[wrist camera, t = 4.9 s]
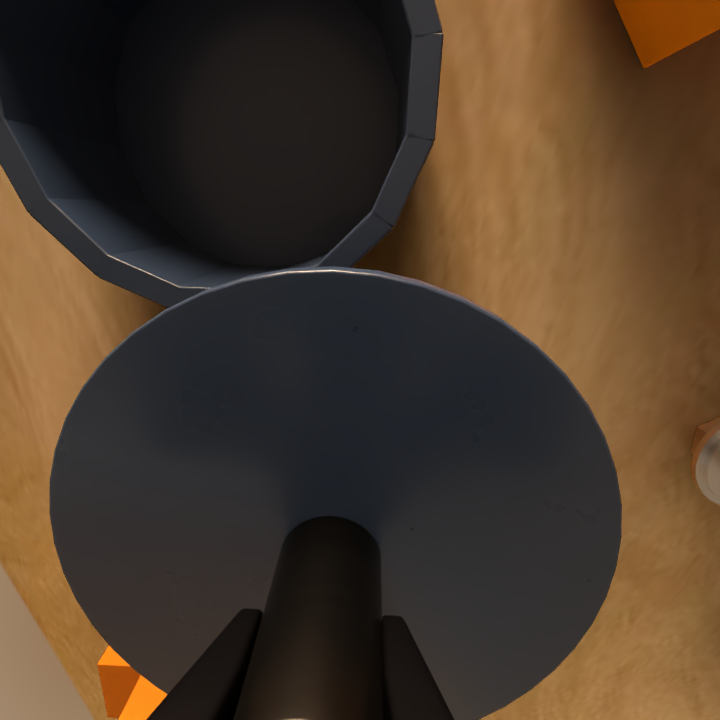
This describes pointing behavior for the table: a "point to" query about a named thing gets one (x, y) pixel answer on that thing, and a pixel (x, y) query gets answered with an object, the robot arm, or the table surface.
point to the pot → (216, 131)
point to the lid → (336, 493)
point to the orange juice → (667, 25)
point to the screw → (707, 459)
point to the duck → (126, 689)
